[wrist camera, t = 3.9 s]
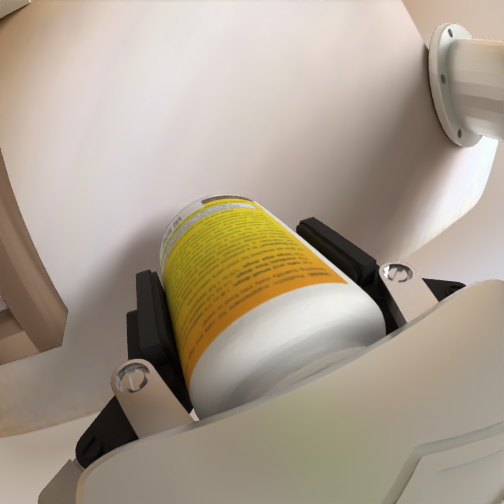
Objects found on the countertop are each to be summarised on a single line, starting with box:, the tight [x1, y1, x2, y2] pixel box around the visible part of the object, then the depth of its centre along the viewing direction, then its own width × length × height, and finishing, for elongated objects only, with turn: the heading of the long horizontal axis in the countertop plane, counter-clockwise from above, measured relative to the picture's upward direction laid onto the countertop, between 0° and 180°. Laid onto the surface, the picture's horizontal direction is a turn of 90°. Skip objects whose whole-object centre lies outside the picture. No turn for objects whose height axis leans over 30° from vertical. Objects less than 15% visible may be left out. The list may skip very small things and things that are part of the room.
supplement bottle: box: [160, 194, 386, 420], centre depth 9 cm, size 6×6×10 cm
